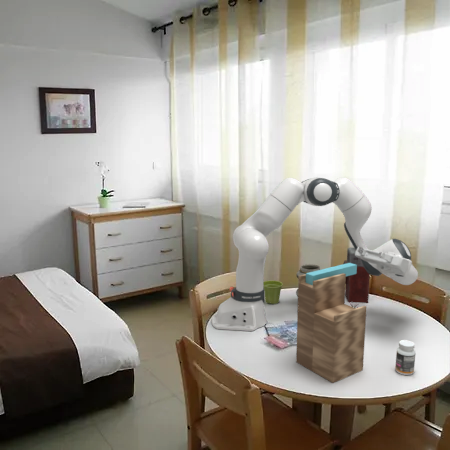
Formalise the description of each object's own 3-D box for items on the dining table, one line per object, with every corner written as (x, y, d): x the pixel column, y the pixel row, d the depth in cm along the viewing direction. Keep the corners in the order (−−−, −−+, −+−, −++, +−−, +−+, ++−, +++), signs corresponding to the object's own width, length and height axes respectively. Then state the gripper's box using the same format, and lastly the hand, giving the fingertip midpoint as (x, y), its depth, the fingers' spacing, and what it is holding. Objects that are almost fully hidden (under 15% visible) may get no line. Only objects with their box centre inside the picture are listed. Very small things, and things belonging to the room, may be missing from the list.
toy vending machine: (340, 295, 224) (342, 237, 219) (364, 296, 223) (367, 237, 218) (342, 302, 216) (345, 241, 210) (368, 302, 214) (371, 242, 209)
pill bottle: (392, 367, 157) (394, 339, 155) (408, 366, 158) (411, 338, 156) (399, 376, 152) (402, 347, 150) (417, 375, 152) (419, 346, 150)
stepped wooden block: (332, 383, 148) (337, 289, 142) (296, 362, 161) (298, 275, 155) (362, 370, 156) (368, 281, 149) (325, 351, 169) (328, 268, 163)
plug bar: (312, 285, 153) (312, 275, 152) (305, 282, 156) (305, 273, 155) (356, 273, 165) (356, 264, 164) (349, 271, 167) (349, 262, 167)
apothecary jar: (290, 303, 215) (291, 264, 211) (312, 298, 220) (313, 261, 216) (306, 312, 204) (307, 272, 200) (328, 307, 209) (330, 268, 206)
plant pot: (268, 307, 210) (269, 288, 208) (257, 300, 218) (257, 282, 217) (286, 303, 214) (286, 285, 213) (274, 297, 223) (275, 279, 221)
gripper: (369, 251, 189) (350, 238, 181) (416, 262, 172) (396, 249, 164) (364, 265, 188) (344, 253, 180) (410, 278, 171) (390, 266, 163)
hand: (369, 251), depth 172 cm, fingers open, 8 cm apart
